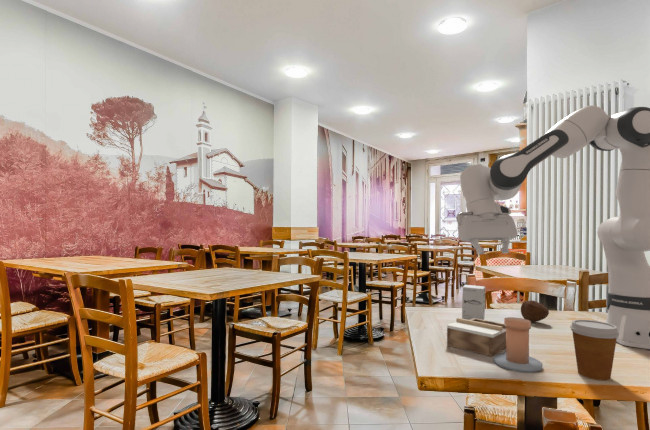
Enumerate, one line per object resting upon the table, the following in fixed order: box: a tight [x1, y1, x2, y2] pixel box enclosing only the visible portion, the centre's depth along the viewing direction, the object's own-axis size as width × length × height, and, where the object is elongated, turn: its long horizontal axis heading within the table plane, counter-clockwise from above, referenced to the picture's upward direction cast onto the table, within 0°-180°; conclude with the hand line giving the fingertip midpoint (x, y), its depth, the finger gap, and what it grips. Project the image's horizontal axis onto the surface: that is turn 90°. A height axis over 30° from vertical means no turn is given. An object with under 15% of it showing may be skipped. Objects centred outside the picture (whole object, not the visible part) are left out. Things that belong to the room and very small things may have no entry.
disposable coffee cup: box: [569, 319, 619, 381], centre depth 90 cm, size 10×10×12 cm
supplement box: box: [461, 284, 486, 320], centre depth 141 cm, size 7×7×13 cm
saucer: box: [493, 352, 543, 374], centre depth 96 cm, size 11×11×1 cm
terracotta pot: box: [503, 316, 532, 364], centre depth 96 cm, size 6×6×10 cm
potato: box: [520, 299, 550, 323], centre depth 140 cm, size 7×10×8 cm
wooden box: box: [446, 318, 506, 358], centre depth 112 cm, size 13×18×5 cm
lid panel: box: [446, 317, 502, 338], centre depth 108 cm, size 13×7×2 cm, turn 45°
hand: (493, 253), depth 118 cm, fingers open, 8 cm apart
